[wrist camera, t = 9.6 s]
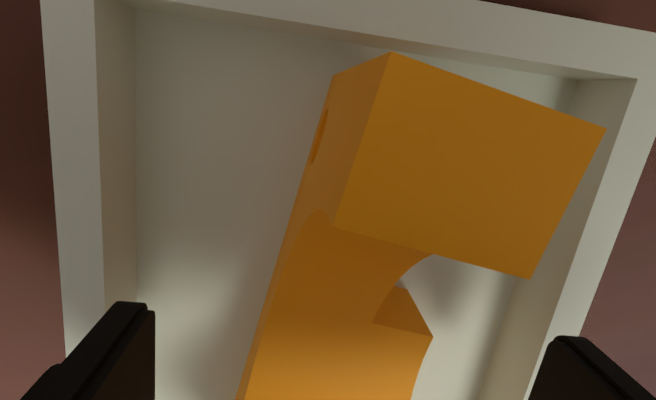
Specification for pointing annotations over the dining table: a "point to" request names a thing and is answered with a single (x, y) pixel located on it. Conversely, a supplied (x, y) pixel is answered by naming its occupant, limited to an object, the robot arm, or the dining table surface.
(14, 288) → the dining table surface
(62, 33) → the tray
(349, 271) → the pipe clamp
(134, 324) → the robot arm
